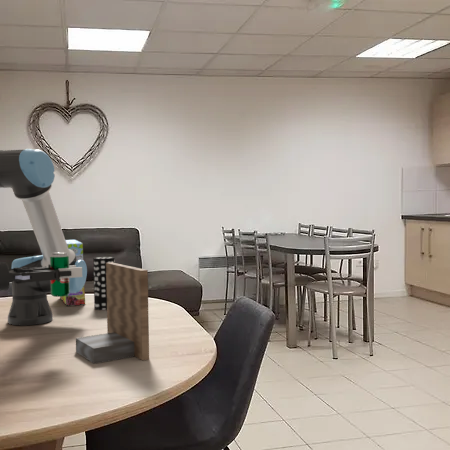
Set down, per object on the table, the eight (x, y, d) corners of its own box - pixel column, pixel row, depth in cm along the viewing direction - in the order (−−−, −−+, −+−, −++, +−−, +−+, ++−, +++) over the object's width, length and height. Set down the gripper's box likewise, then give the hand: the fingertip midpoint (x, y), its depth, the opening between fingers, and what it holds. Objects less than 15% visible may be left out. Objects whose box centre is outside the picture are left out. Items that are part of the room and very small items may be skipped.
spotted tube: (96, 306, 230) (94, 257, 229) (116, 305, 230) (115, 256, 229) (93, 310, 221) (91, 259, 220) (114, 309, 222) (113, 258, 221)
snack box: (57, 298, 249) (56, 240, 248) (78, 296, 253) (76, 239, 252) (64, 306, 230) (62, 243, 228) (86, 304, 233) (84, 242, 232)
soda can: (64, 297, 156) (63, 253, 156) (47, 296, 157) (46, 253, 157) (72, 294, 161) (72, 252, 161) (56, 293, 162) (55, 252, 162)
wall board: (70, 348, 164) (68, 265, 163) (113, 341, 172) (112, 262, 171) (101, 368, 144) (99, 274, 143) (149, 359, 152) (147, 270, 151)
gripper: (-15, 287, 157) (69, 280, 169) (-2, 296, 142) (89, 287, 154) (-15, 260, 157) (68, 255, 169) (-2, 266, 141) (88, 260, 154)
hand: (78, 271), depth 162 cm, fingers closed on soda can, 5 cm apart
